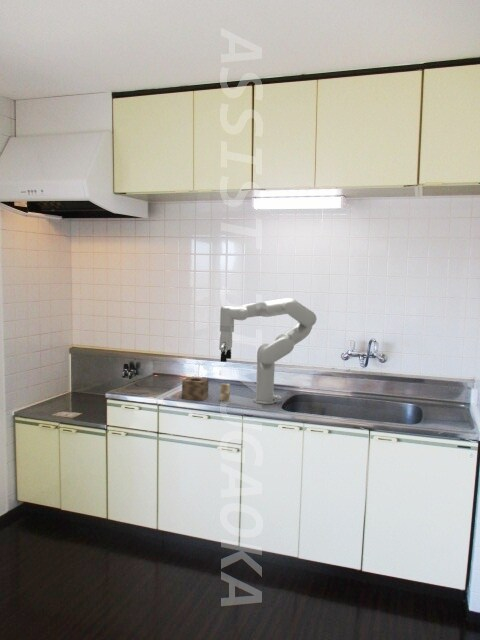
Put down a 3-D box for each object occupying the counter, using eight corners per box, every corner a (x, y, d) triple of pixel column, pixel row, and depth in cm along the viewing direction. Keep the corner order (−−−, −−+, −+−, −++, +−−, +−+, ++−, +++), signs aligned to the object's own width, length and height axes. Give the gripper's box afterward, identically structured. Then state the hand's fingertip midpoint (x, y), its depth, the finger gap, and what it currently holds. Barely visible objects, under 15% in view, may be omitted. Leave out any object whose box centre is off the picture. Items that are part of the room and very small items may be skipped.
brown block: (208, 396, 290) (208, 378, 289) (202, 400, 280) (203, 382, 279) (187, 394, 293) (188, 377, 292) (181, 398, 283) (182, 380, 282)
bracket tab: (229, 399, 284) (230, 383, 283) (228, 401, 281) (228, 384, 280) (221, 399, 285) (222, 383, 284) (220, 400, 282) (220, 384, 281)
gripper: (224, 326, 288) (223, 357, 290) (215, 330, 271) (214, 362, 273) (237, 327, 286) (236, 358, 288) (229, 331, 270) (228, 363, 271)
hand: (225, 360), depth 281 cm, fingers open, 9 cm apart
